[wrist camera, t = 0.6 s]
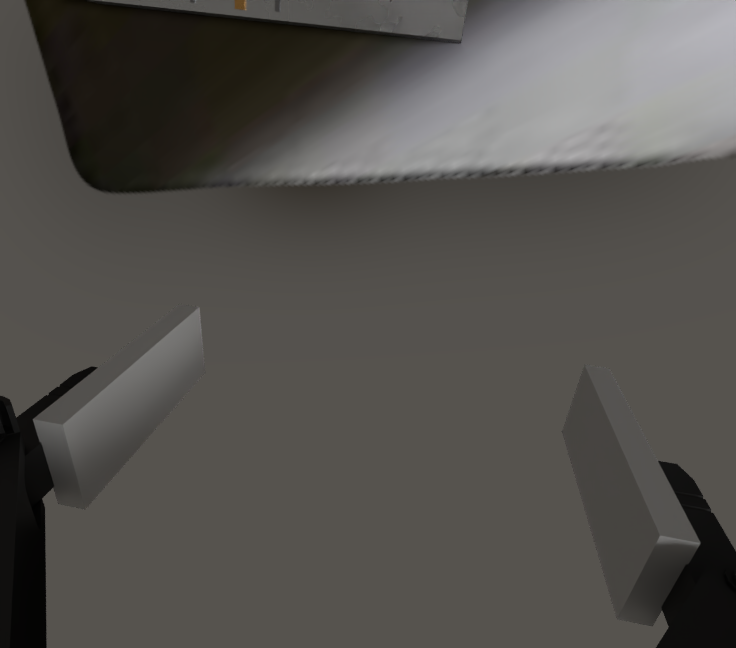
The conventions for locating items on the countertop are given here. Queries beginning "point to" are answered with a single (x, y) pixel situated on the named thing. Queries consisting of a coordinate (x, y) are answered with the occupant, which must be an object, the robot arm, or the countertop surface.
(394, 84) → the countertop surface
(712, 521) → the robot arm
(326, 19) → the console
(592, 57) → the countertop surface
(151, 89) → the countertop surface
